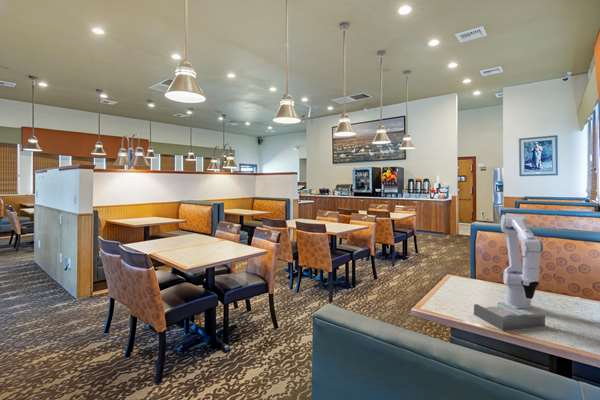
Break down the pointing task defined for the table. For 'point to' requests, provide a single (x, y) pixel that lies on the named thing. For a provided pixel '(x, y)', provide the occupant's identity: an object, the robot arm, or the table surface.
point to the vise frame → (509, 319)
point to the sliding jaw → (510, 309)
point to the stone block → (500, 311)
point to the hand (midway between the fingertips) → (529, 298)
